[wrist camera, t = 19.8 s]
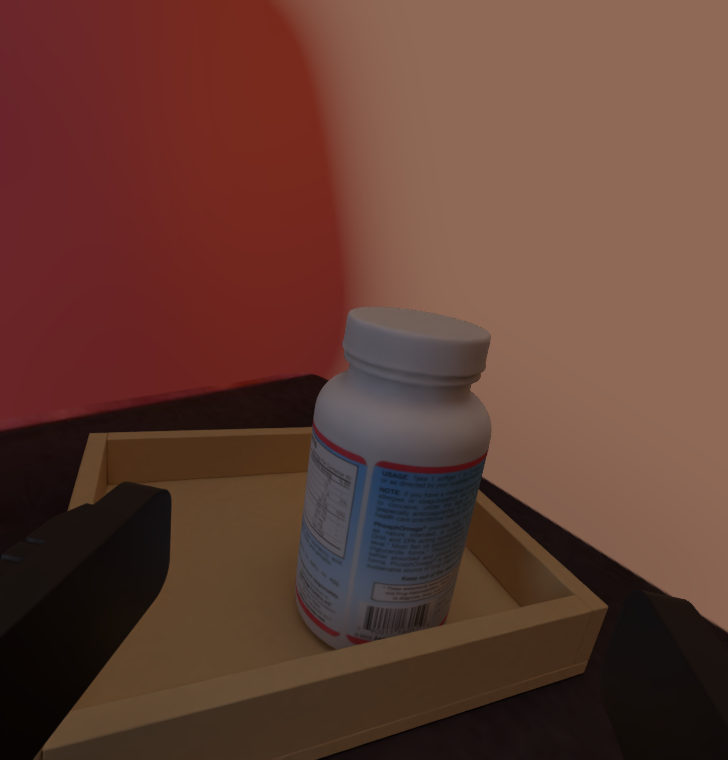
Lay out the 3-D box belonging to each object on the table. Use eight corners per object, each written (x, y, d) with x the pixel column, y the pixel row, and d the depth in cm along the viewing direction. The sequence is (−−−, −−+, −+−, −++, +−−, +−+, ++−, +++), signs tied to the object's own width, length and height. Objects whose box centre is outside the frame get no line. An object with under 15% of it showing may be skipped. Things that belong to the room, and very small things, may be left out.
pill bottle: (453, 576, 21) (515, 325, 17) (433, 696, 15) (519, 359, 12) (324, 535, 22) (359, 295, 19) (262, 632, 16) (295, 314, 13)
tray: (398, 467, 31) (406, 424, 30) (584, 673, 18) (609, 606, 17) (90, 488, 24) (89, 432, 23) (6, 861, 10) (-6, 762, 10)
